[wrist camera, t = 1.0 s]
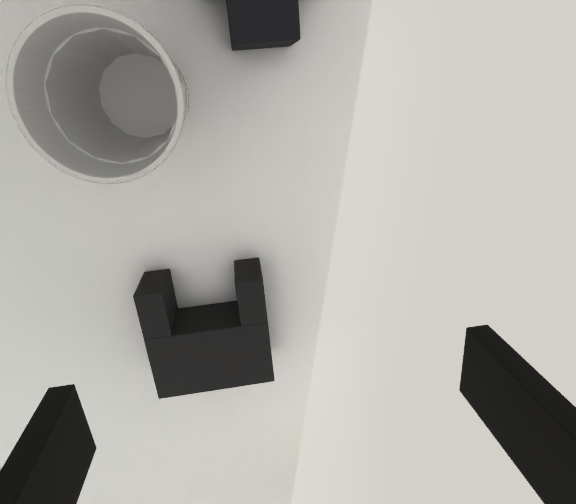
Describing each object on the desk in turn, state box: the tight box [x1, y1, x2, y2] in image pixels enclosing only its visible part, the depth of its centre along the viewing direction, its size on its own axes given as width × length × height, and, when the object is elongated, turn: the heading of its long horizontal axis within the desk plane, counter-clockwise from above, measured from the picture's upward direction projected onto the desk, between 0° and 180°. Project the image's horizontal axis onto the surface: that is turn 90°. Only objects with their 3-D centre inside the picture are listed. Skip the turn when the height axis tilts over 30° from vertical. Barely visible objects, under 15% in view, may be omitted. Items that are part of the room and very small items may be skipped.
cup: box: [6, 5, 189, 184], centre depth 25 cm, size 8×8×12 cm
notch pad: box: [133, 258, 274, 399], centre depth 36 cm, size 10×10×4 cm
